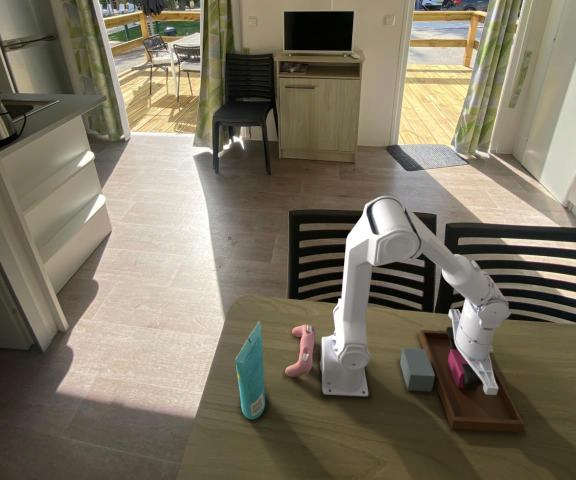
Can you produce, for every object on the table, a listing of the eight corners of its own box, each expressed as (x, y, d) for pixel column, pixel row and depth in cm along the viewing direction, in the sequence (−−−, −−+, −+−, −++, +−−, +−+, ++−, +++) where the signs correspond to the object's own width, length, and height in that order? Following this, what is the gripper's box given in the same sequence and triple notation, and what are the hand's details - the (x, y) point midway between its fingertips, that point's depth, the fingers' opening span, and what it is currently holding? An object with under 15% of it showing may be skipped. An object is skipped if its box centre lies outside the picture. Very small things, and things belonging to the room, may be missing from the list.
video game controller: (301, 386, 64) (316, 371, 62) (282, 376, 64) (297, 360, 62) (307, 338, 73) (320, 323, 71) (291, 328, 73) (304, 313, 71)
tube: (252, 378, 64) (248, 315, 58) (272, 389, 62) (270, 325, 56) (232, 420, 58) (226, 354, 52) (254, 434, 56) (249, 368, 50)
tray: (451, 428, 57) (453, 420, 56) (419, 337, 72) (420, 329, 71) (521, 432, 56) (524, 424, 55) (474, 339, 72) (476, 332, 71)
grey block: (407, 390, 62) (410, 375, 61) (399, 362, 67) (402, 347, 66) (431, 391, 62) (435, 376, 61) (422, 363, 67) (425, 348, 65)
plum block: (457, 387, 62) (461, 373, 60) (447, 362, 66) (450, 348, 65) (479, 388, 62) (483, 374, 60) (467, 363, 66) (471, 349, 65)
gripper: (521, 373, 52) (504, 419, 57) (475, 295, 66) (464, 337, 70) (481, 371, 53) (466, 417, 57) (443, 294, 66) (434, 336, 71)
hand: (463, 373), depth 64 cm, fingers closed on plum block, 4 cm apart
